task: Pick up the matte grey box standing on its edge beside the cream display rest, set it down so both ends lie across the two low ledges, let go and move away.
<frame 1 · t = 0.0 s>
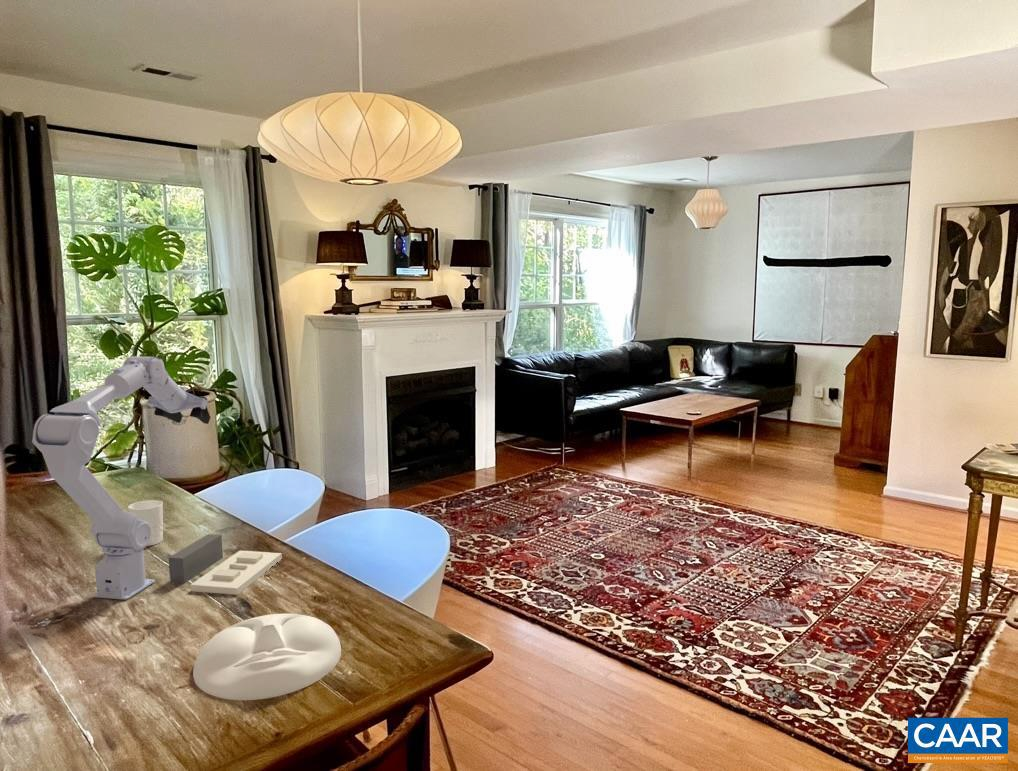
hand: (194, 419, 176), 32 cm above the table, tool tilted 50°, fingers open, 7 cm apart
theatrical mask: (269, 662, 125), on the table
white cup: (148, 542, 182), on the table
display rest: (239, 574, 161), on the table
matte grey box: (197, 570, 164), on the table
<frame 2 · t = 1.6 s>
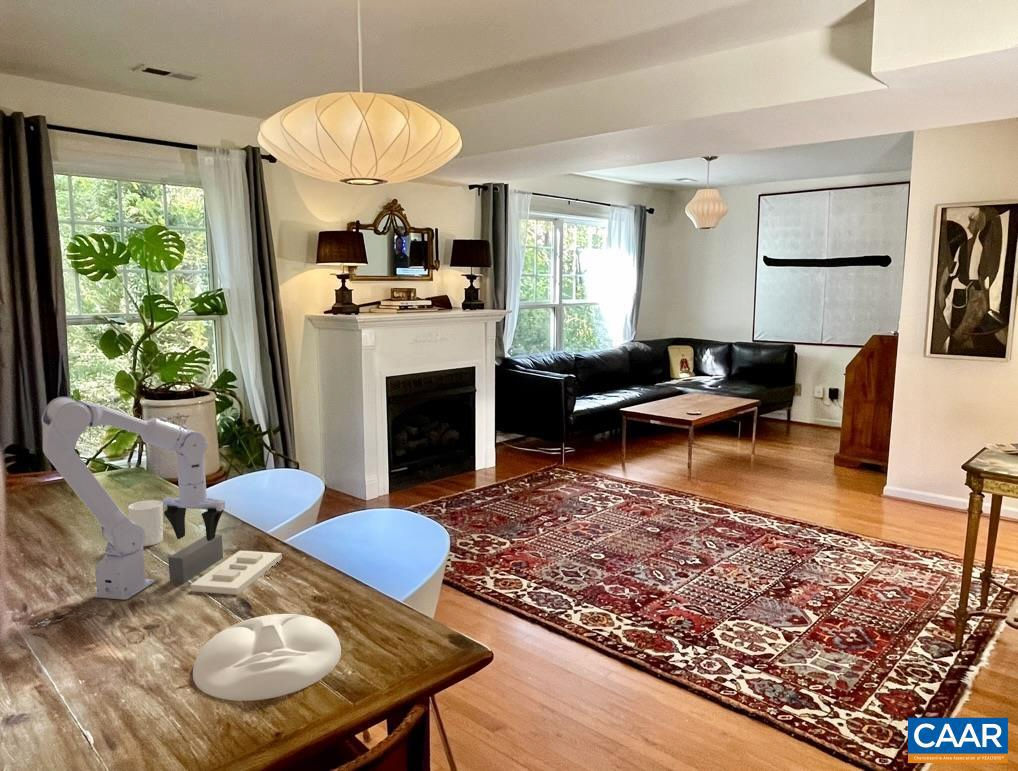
hand: (195, 538, 163), 8 cm above the table, tool pointing down, fingers open, 7 cm apart
nothing on the table moved.
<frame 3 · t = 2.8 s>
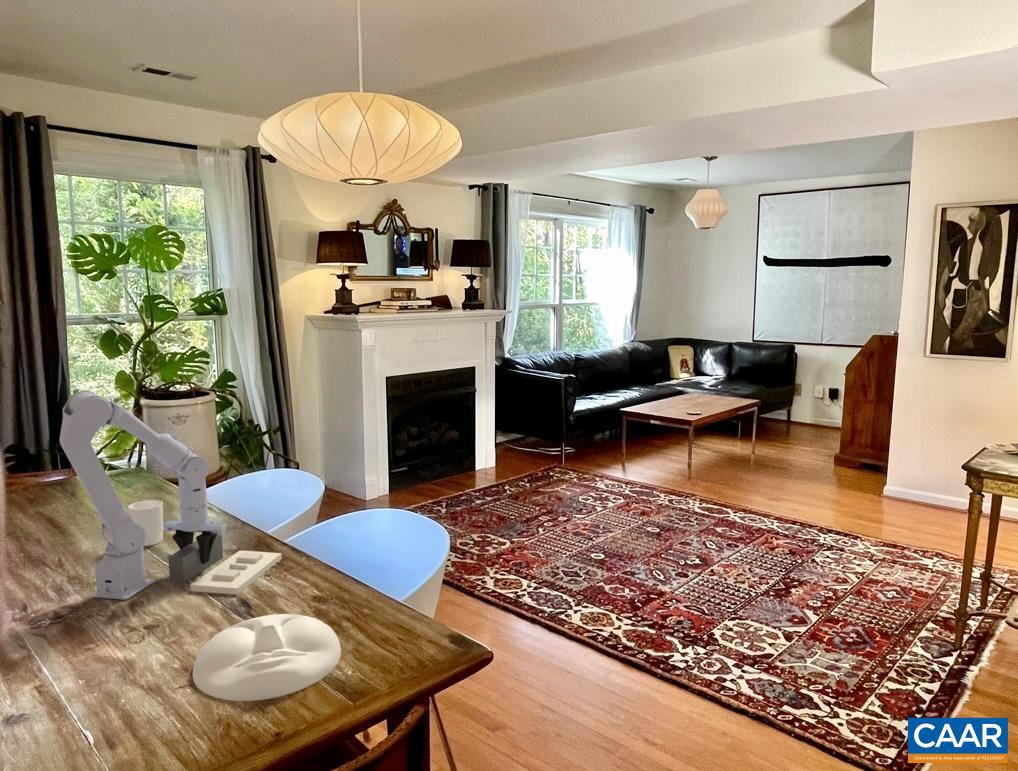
hand: (197, 561, 164), 2 cm above the table, tool pointing down, fingers closed on matte grey box, 4 cm apart
matte grey box: (197, 569, 164), on the table, touching gripper
everything else where it was.
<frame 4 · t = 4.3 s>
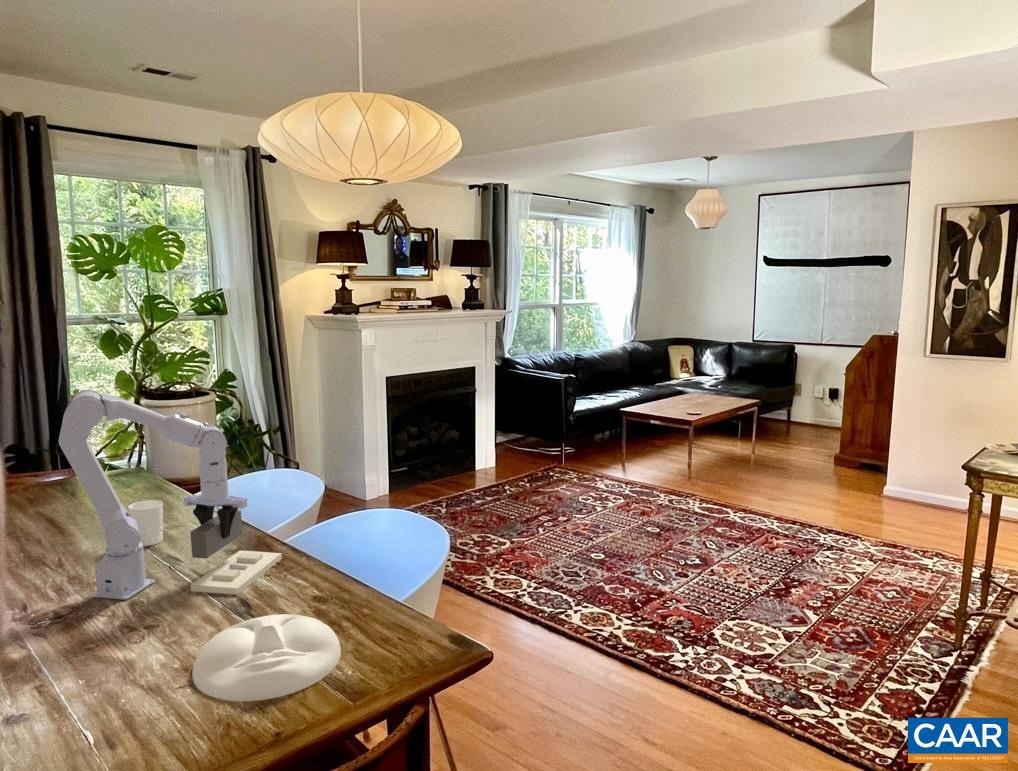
hand: (217, 536, 162), 9 cm above the table, tool pointing down, fingers closed on matte grey box, 3 cm apart
matte grey box: (218, 545, 162), point 6 cm above the table, touching gripper
everything else where it was.
when the fingers open (5 cm above the table, at t = 5.7 s): matte grey box stays where it is, resting on display rest.
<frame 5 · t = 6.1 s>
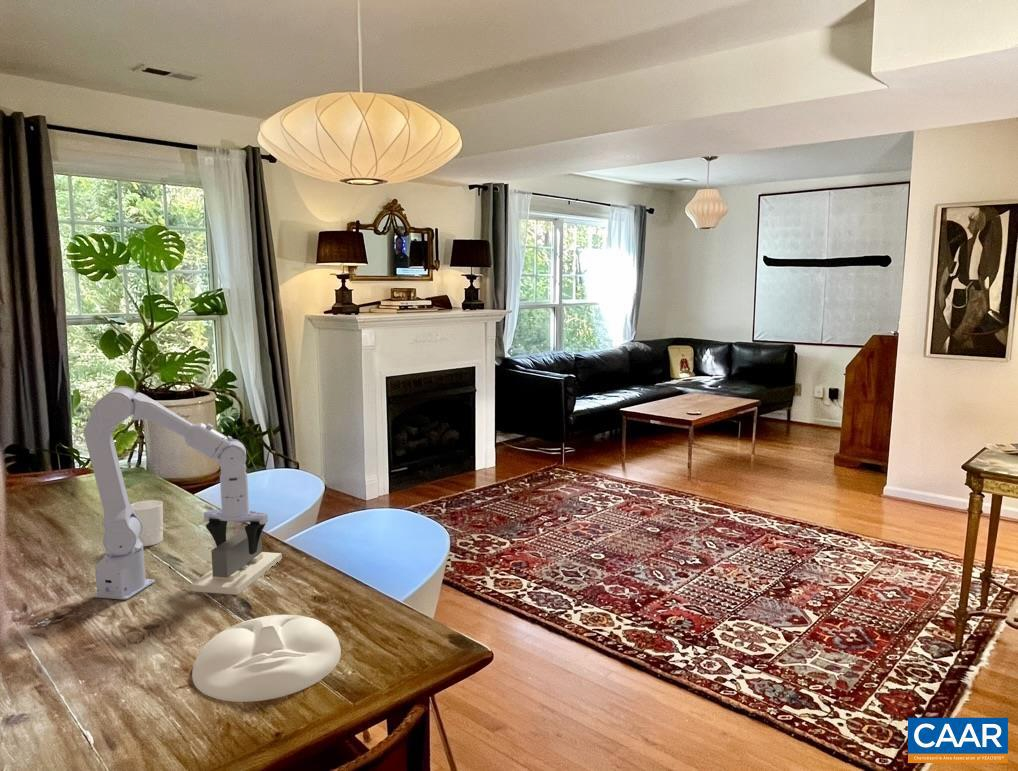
hand: (237, 551, 161), 5 cm above the table, tool pointing down, fingers open, 7 cm apart
matte grey box: (238, 563, 161), point 2 cm above the table, touching display rest
everything else where it was.
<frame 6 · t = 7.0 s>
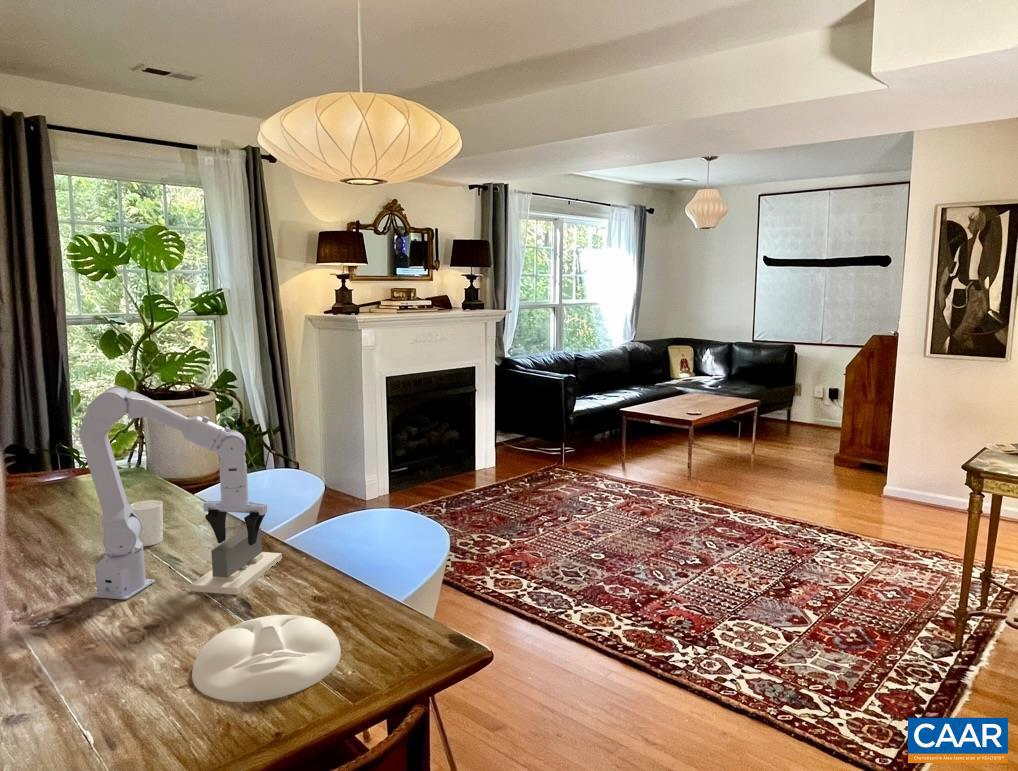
hand: (237, 542, 160), 8 cm above the table, tool pointing down, fingers open, 7 cm apart
nothing on the table moved.
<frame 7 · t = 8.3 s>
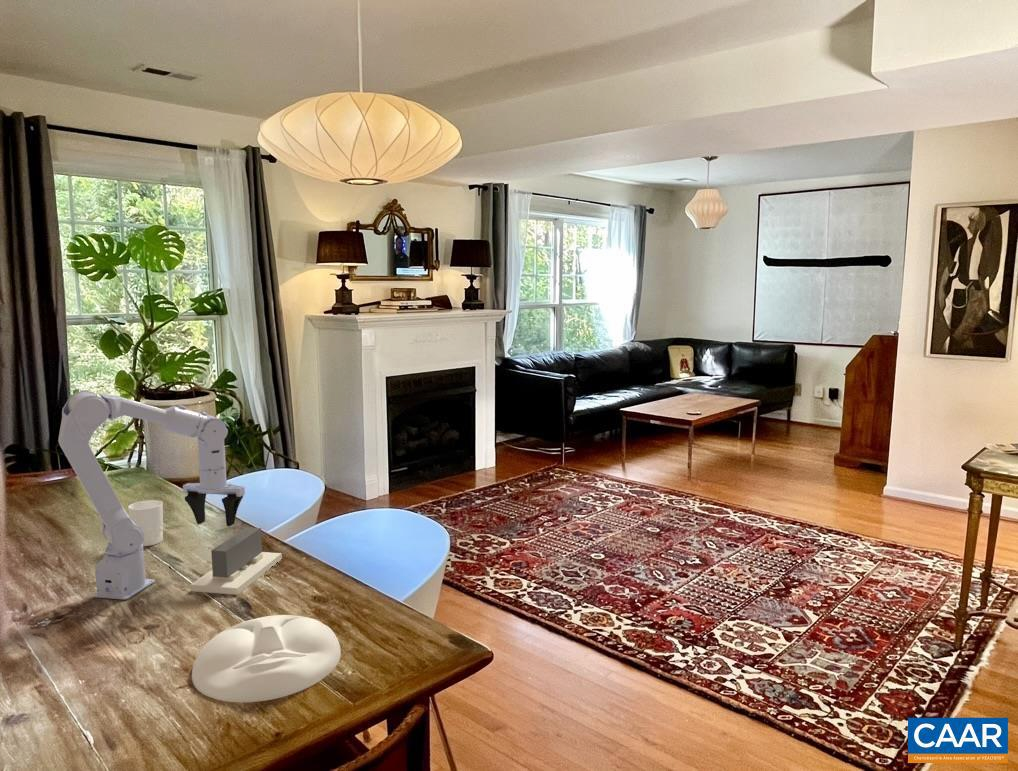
hand: (215, 523, 165), 10 cm above the table, tool pointing down, fingers open, 7 cm apart
nothing on the table moved.
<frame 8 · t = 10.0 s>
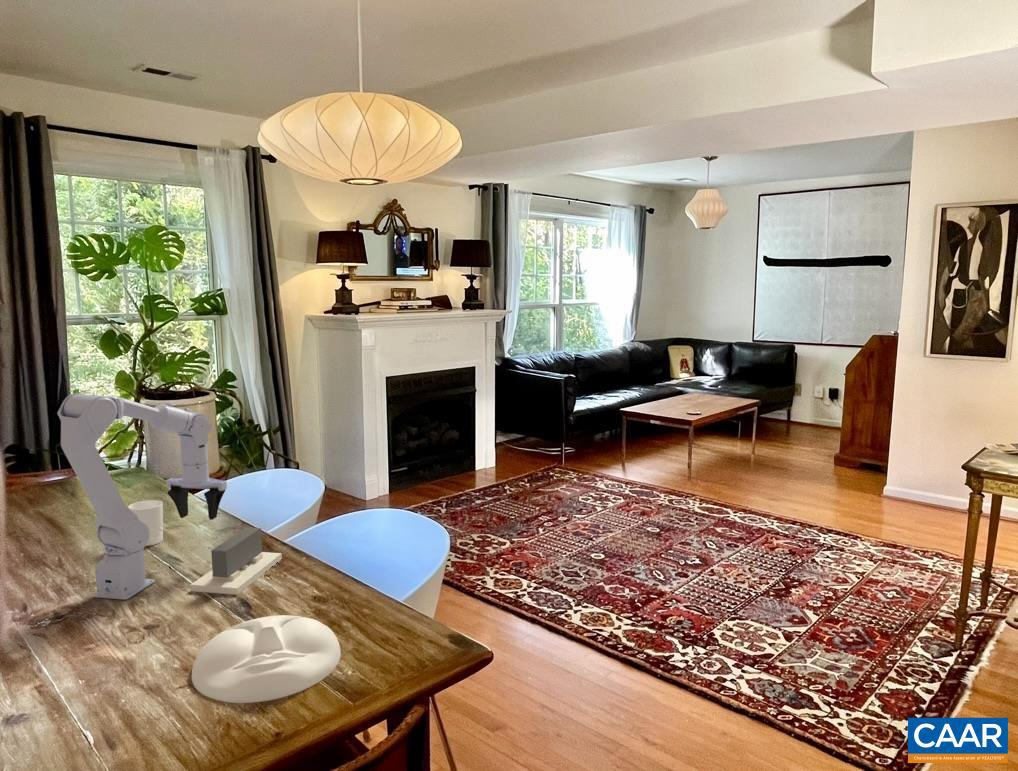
hand: (198, 517, 169), 10 cm above the table, tool pointing down, fingers open, 7 cm apart
nothing on the table moved.
at the end: matte grey box 0.1 cm off-centre on the display rest, point 2.5 cm above the display rest's base; matte grey box tilted 0°; the gripper is holding nothing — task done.
